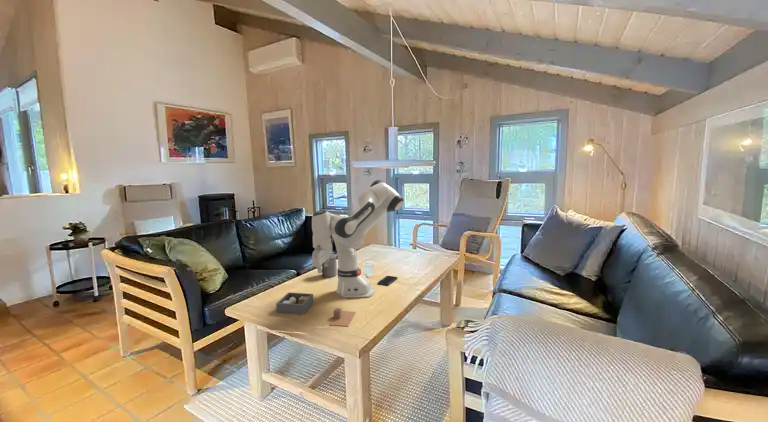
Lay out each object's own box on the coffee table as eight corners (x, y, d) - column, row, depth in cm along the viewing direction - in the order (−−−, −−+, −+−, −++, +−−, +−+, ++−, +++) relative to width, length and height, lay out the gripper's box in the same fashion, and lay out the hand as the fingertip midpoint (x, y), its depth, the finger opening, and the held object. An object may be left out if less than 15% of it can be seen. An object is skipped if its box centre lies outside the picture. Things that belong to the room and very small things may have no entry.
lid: (356, 313, 169) (355, 304, 168) (348, 327, 154) (347, 317, 154) (328, 311, 171) (327, 302, 170) (318, 325, 157) (317, 315, 156)
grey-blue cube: (292, 308, 173) (292, 300, 172) (289, 311, 169) (288, 304, 168) (285, 307, 173) (284, 300, 173) (281, 311, 169) (281, 303, 169)
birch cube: (309, 303, 178) (308, 296, 177) (306, 307, 174) (305, 299, 173) (302, 303, 179) (301, 296, 178) (298, 306, 175) (298, 299, 174)
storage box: (313, 303, 179) (313, 293, 179) (303, 315, 166) (302, 305, 165) (289, 302, 182) (288, 292, 181) (276, 313, 168) (276, 303, 167)
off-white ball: (297, 303, 179) (297, 295, 178) (294, 306, 175) (294, 299, 174) (290, 302, 180) (290, 295, 179) (287, 305, 176) (287, 298, 175)
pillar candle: (319, 274, 225) (319, 253, 222) (333, 271, 230) (332, 250, 228) (326, 279, 217) (325, 256, 214) (339, 275, 222) (339, 254, 220)
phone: (398, 277, 216) (388, 284, 203) (398, 278, 217) (388, 286, 203) (387, 275, 220) (376, 283, 207) (387, 277, 220) (376, 284, 207)
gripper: (320, 249, 156) (322, 277, 158) (334, 238, 176) (335, 263, 178) (308, 248, 157) (309, 276, 159) (322, 238, 177) (323, 263, 179)
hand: (323, 269), depth 169 cm, fingers open, 8 cm apart
